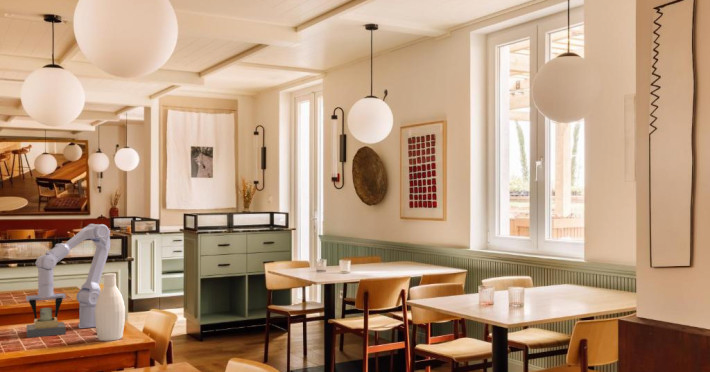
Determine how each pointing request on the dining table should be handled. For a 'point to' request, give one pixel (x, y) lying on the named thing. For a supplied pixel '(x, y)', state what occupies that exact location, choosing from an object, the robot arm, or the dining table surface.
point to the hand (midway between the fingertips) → (45, 317)
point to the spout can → (46, 314)
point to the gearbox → (46, 328)
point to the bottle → (110, 311)
